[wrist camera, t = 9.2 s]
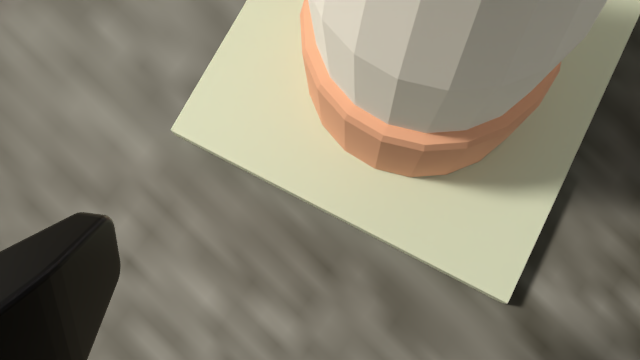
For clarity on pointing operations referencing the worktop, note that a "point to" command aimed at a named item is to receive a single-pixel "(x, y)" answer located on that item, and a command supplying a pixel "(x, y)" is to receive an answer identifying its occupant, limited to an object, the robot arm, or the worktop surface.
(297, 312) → the worktop surface
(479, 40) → the pepper shaker
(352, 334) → the worktop surface
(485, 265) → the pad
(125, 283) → the worktop surface
